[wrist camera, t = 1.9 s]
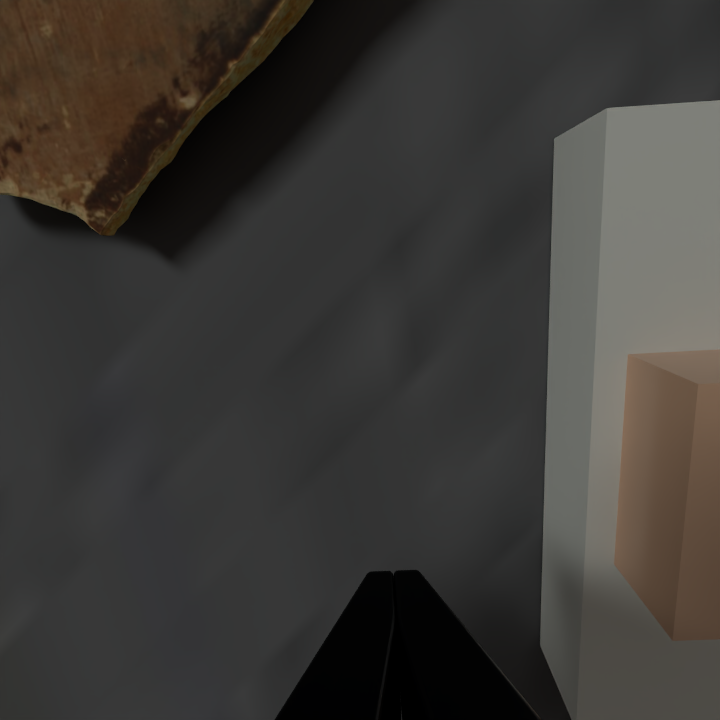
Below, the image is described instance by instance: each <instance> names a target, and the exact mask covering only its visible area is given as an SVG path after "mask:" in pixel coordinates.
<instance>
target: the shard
mask: <svg viewBox="0 0 720 720" xmlns="http://www.w3.org/2000/svg"><path fill="white" fill-rule="evenodd" d="M313 1H314V0H0V194H2V195H11V196H16V197H23V198H28V199H31V200H34V201H36V202H39V203H42V204H45V205H48V206H51V207H54V208H57V209H59V210H61V211H65V212H68V213H72V214H74V215H76V216H78V217H79V218H81V219H82V220H84V221H85V222H86V223H87V224H88V225H89V226H90V227H91V228H92V229H93V230H95V231H96V232H97V233H99V234H100V235H105V236H110V235H114V234H115V232H116V231H117V229H118V228H119V227H120V226H121V225H122V224H123V223H124V222H125V221H126V220H127V219H128V218H129V216H130V213H131V212H132V210H133V208H134V207H135V205H136V204H137V202H138V200H139V198H140V197H141V196H142V194H143V193H144V192H145V190H146V189H147V187H148V186H149V184H150V182H151V181H152V180H153V179H154V178H155V177H156V176H157V174H158V173H159V171H160V170H161V169H163V168H164V167H165V166H167V165H168V164H169V163H171V162H172V160H173V159H174V157H175V156H176V154H177V152H178V150H179V148H180V147H181V145H182V144H183V142H184V141H185V139H186V138H187V137H188V136H189V135H190V133H191V132H192V131H193V129H194V128H195V127H196V126H197V124H198V123H199V122H200V120H201V119H202V118H203V117H204V116H205V115H206V114H207V113H208V112H209V111H210V110H211V109H213V108H214V107H215V106H216V105H217V104H218V103H219V102H221V101H222V100H223V99H224V98H226V97H227V96H228V95H229V93H230V92H231V90H233V89H234V88H235V87H236V86H237V85H238V84H239V83H240V82H241V81H242V80H244V79H245V78H246V77H247V76H248V75H249V74H250V73H251V72H252V71H253V70H255V68H256V67H258V66H259V65H260V64H261V63H262V62H263V61H264V60H265V59H266V57H267V56H268V55H269V54H270V53H271V52H272V51H273V50H274V48H275V47H276V46H277V45H278V44H279V42H280V41H281V40H282V38H283V37H284V36H285V35H286V34H287V33H288V32H289V31H290V30H291V29H292V28H293V27H294V26H295V25H296V24H297V23H298V22H299V20H300V19H301V18H302V16H303V15H304V14H305V12H306V11H307V9H308V8H309V7H310V5H311V4H312V2H313Z"/></svg>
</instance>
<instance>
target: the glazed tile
mask: <svg viewBox="0 0 720 720" xmlns="http://www.w3.org/2000/svg"><path fill="white" fill-rule="evenodd" d="M614 565H615V566H616V568H617V569H618V570H619V571H620V573H621V574H622V575H623V577H624V578H625V579H626V581H627V582H628V583H629V585H630V586H631V587H632V588H633V590H634V591H635V592H636V594H637V595H638V596H639V598H640V599H641V600H642V602H643V603H644V604H645V606H646V607H647V608H648V609H649V611H650V612H651V613H652V615H653V616H654V617H655V619H656V620H657V621H658V623H659V624H660V625H661V626H662V628H663V629H664V630H665V632H666V633H667V634H668V636H669V637H670V638H671V640H672V641H685V640H715V639H720V349H717V350H698V351H679V352H660V353H641V354H628V359H627V374H626V389H625V404H624V420H623V435H622V450H621V465H620V481H619V496H618V511H617V526H616V541H615V557H614Z"/></svg>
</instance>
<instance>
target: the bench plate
mask: <svg viewBox="0 0 720 720" xmlns="http://www.w3.org/2000/svg"><path fill="white" fill-rule="evenodd" d="M717 349H720V100H719V101H704V102H689V103H675V104H660V105H646V106H631V107H616V108H607V109H605V110H603V111H601V112H600V113H598V114H596V115H594V116H593V117H591V118H589V119H587V120H586V121H584V122H582V123H581V124H579V125H577V126H575V127H574V128H572V129H570V130H568V131H567V132H565V133H563V134H561V135H560V136H558V137H556V138H555V139H554V166H553V201H552V237H551V272H550V308H549V343H548V379H547V414H546V449H545V485H544V520H543V556H542V591H541V627H540V647H541V649H542V651H543V654H544V656H545V658H546V661H547V663H548V665H549V668H550V670H551V672H552V675H553V677H554V680H555V682H556V684H557V687H558V689H559V691H560V694H561V696H562V698H563V701H564V703H565V705H566V708H567V710H568V713H569V715H570V717H571V720H720V639H715V640H685V641H672V640H671V638H670V637H669V636H668V634H667V633H666V632H665V630H664V629H663V628H662V626H661V625H660V624H659V623H658V621H657V620H656V619H655V617H654V616H653V615H652V613H651V612H650V611H649V609H648V608H647V607H646V606H645V604H644V603H643V602H642V600H641V599H640V598H639V596H638V595H637V594H636V592H635V591H634V590H633V588H632V587H631V586H630V585H629V583H628V582H627V581H626V579H625V578H624V577H623V575H622V574H621V573H620V571H619V570H618V569H617V568H616V566H615V565H614V557H615V541H616V526H617V511H618V496H619V481H620V465H621V450H622V435H623V420H624V404H625V389H626V374H627V359H628V354H641V353H660V352H679V351H698V350H717Z"/></svg>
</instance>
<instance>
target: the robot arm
mask: <svg viewBox="0 0 720 720" xmlns="http://www.w3.org/2000/svg"><path fill="white" fill-rule="evenodd" d="M400 696H401V700H400ZM401 712H402V720H542V719H541V718H540V717H539V716H538V714H537V713H536V712H535V711H534V710H533V708H532V707H531V706H530V705H529V704H528V702H527V701H526V700H525V699H524V697H523V696H522V695H521V694H520V693H519V691H518V690H517V689H516V688H515V687H514V685H513V684H512V683H511V682H510V681H509V679H508V678H507V677H506V676H505V674H504V673H503V672H502V671H501V670H500V668H499V667H498V666H497V665H496V664H495V662H494V661H493V660H492V659H491V658H490V656H489V655H488V654H487V653H486V651H485V650H484V649H483V648H482V647H481V645H480V644H479V643H478V642H477V641H476V639H475V638H474V637H473V636H472V635H471V633H470V632H469V631H468V630H467V628H466V627H465V626H464V625H463V624H462V622H461V621H460V620H459V619H458V618H457V616H456V615H455V614H454V613H453V612H452V610H451V609H450V608H449V607H448V605H447V604H446V603H445V602H444V601H443V599H442V598H441V597H440V596H439V595H438V593H437V592H436V591H435V590H434V589H433V587H432V586H431V585H430V584H429V583H428V581H427V580H426V579H425V578H424V576H423V575H422V574H421V573H420V572H419V571H418V570H400V571H396V572H395V573H394V578H393V573H392V572H390V571H373V572H369V573H367V575H366V576H365V578H364V579H363V581H362V583H361V584H360V586H359V587H358V589H357V591H356V592H355V594H354V595H353V597H352V598H351V600H350V602H349V603H348V605H347V606H346V608H345V609H344V611H343V613H342V614H341V616H340V617H339V619H338V621H337V622H336V624H335V625H334V627H333V628H332V630H331V632H330V633H329V635H328V636H327V638H326V639H325V641H324V643H323V644H322V646H321V647H320V649H319V651H318V652H317V654H316V655H315V657H314V658H313V660H312V662H311V663H310V665H309V666H308V668H307V669H306V671H305V673H304V674H303V676H302V677H301V679H300V681H299V682H298V684H297V685H296V687H295V688H294V690H293V692H292V693H291V695H290V696H289V698H288V699H287V701H286V703H285V704H284V706H283V707H282V709H281V711H280V712H279V714H278V715H277V717H276V718H275V720H401Z"/></svg>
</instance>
